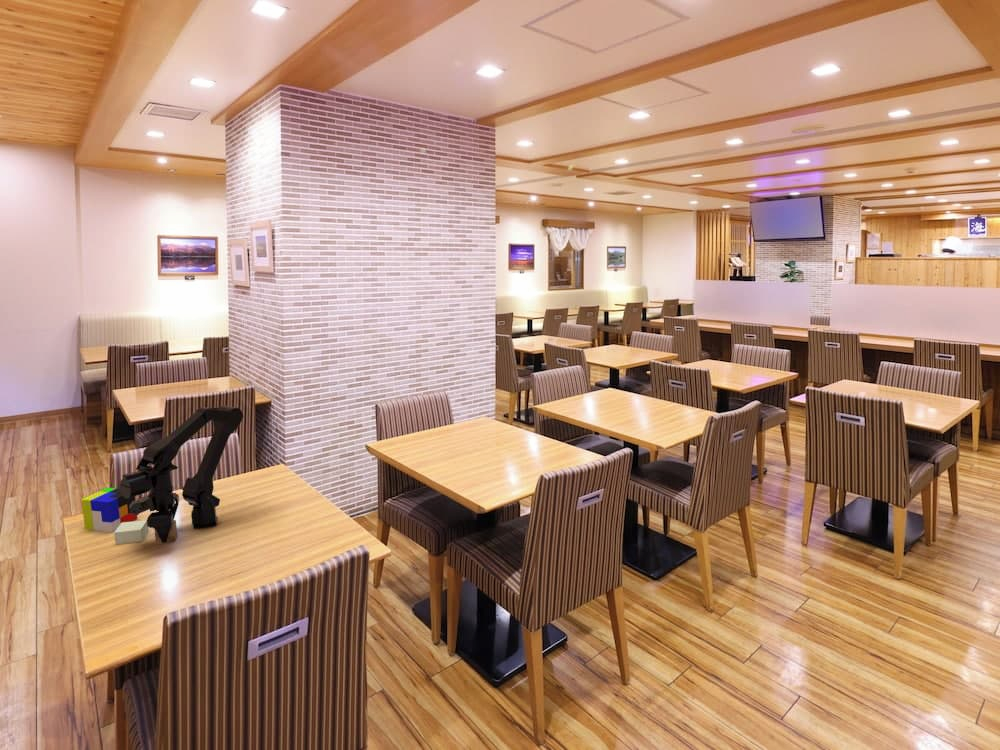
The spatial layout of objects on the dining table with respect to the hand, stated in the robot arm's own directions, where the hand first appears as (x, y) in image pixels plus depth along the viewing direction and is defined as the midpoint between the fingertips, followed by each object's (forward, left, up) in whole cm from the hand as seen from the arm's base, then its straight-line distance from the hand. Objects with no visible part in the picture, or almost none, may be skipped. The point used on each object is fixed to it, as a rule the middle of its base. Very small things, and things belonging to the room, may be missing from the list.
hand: (166, 535), depth 184 cm
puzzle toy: (+18, -18, -2) cm, 26 cm away
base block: (+10, -5, -2) cm, 11 cm away
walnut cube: (0, 0, -1) cm, 1 cm away
